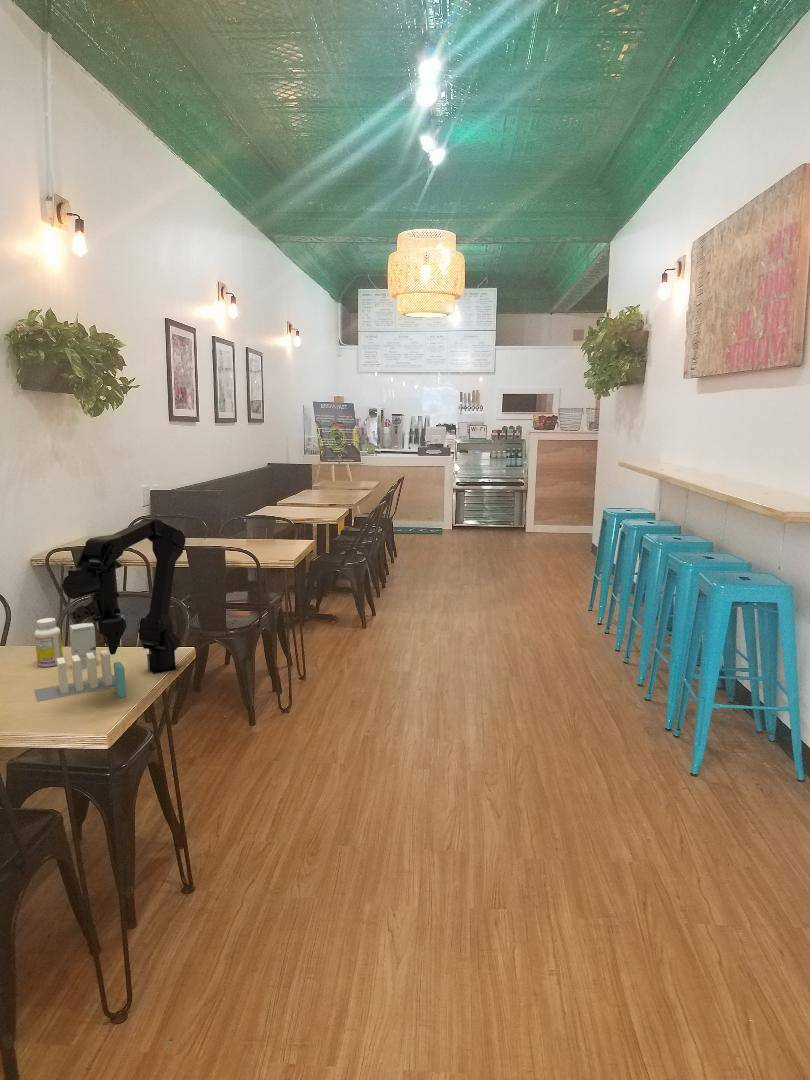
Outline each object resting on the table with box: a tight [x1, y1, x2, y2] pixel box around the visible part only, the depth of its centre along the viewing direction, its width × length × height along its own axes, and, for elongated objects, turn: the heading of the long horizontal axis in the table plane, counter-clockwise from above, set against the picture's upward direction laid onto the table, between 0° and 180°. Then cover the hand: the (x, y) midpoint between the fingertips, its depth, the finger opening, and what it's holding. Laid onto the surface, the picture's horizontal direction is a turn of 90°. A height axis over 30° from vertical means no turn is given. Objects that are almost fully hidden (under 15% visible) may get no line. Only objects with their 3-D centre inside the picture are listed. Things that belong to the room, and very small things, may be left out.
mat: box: [33, 674, 115, 703], centre depth 186 cm, size 20×9×1 cm, turn 122°
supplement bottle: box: [33, 617, 64, 668], centre depth 204 cm, size 7×7×13 cm
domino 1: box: [56, 656, 69, 694], centre depth 183 cm, size 2×5×8 cm, turn 32°
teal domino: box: [113, 661, 127, 698], centre depth 181 cm, size 2×5×8 cm, turn 32°
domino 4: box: [99, 649, 113, 686], centre depth 189 cm, size 2×5×8 cm, turn 32°
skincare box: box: [69, 621, 98, 670], centre depth 201 cm, size 6×4×12 cm
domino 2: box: [70, 655, 84, 691], centre depth 185 cm, size 2×5×8 cm, turn 32°
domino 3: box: [86, 653, 98, 689], centre depth 187 cm, size 2×5×8 cm, turn 32°
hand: (110, 648), depth 180 cm, fingers open, 9 cm apart
